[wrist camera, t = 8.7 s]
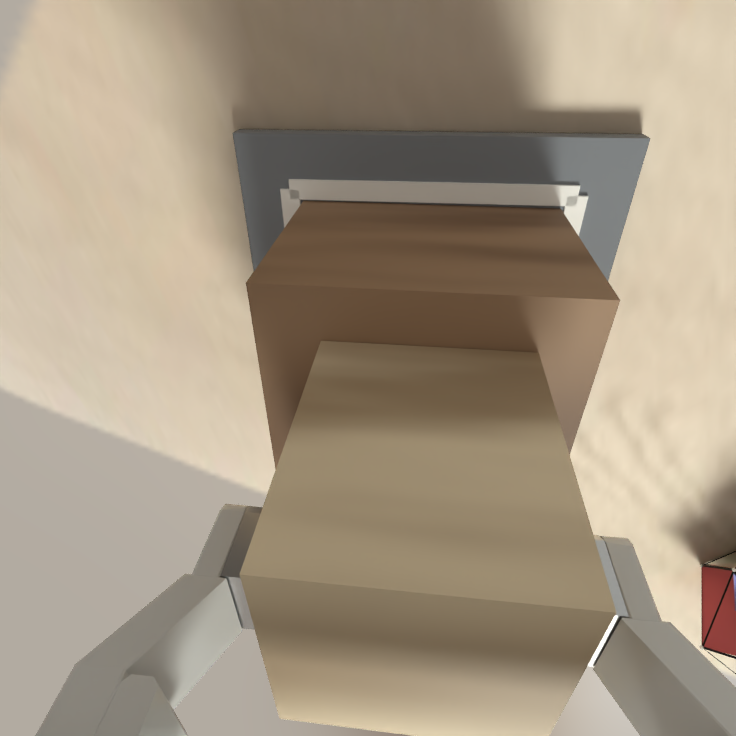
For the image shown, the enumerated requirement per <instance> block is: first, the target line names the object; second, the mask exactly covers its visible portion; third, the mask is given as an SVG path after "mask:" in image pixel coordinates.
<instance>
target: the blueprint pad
mask: <svg viewBox="0 0 736 736" xmlns="http://www.w3.org/2000/svg"><path fill="white" fill-rule="evenodd" d="M233 138H234V144H235V151H236V157H237V164H238V170H239V177H240V183H241V190H242V196H243V203H244V210H245V216H246V223H247V229H248V236H249V242H250V249H251V255H252V262H253V268H254V271H255V269H256V268H257V267H258V265H259V264H260V262H261V261H262V259H263V258H264V256H265V255H266V254H267V252H268V251H269V249H270V248H271V246H272V245H273V244H274V242H275V241H276V239H277V238H278V236H279V235H280V234H281V232H282V231H283V229H284V228H285V226H286V225H287V224H288V222H289V221H290V219H291V218H292V216H293V215H294V214H295V212H296V211H297V209H298V208H299V206H300V205H301V204H302V202H303V201H333V202H366V203H398V204H430V205H462V206H494V207H527V208H559V209H561V210H562V211H563V213H564V214H565V216H566V218H567V219H568V221H569V222H570V224H571V225H572V227H573V228H574V230H575V231H576V233H577V235H578V236H579V238H580V239H581V241H582V242H583V244H584V245H585V247H586V248H587V250H588V252H589V253H590V255H591V256H592V258H593V259H594V261H595V262H596V264H597V265H598V267H599V269H600V270H601V272H602V273H603V275H604V276H605V278H606V279H607V281H608V279H609V275H610V272H611V269H612V265H613V262H614V259H615V255H616V252H617V249H618V245H619V242H620V238H621V235H622V232H623V228H624V225H625V222H626V218H627V215H628V212H629V208H630V205H631V202H632V198H633V195H634V191H635V188H636V185H637V181H638V178H639V175H640V171H641V168H642V165H643V161H644V158H645V155H646V151H647V148H648V144H649V141H650V138H649V137H647V136H645V135H644V134H588V133H504V132H420V131H336V130H252V129H239V130H237V131H236V132H234V133H233Z"/></svg>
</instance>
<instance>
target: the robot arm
mask: <svg viewBox="0 0 736 736" xmlns="http://www.w3.org/2000/svg"><path fill="white" fill-rule="evenodd" d="M262 508H263V507H253V506H244V505H233V504H225V505H224V506H223V508H222V509H221V510H220V512H219V514H218V516H217V518H216V521H215V523H214V525H213V528H212V530H211V532H210V534H209V537H208V539H207V541H206V544H205V546H204V548H203V550H202V553H201V555H200V557H199V560H198V562H197V564H196V567H195V569H194V571H193V574H184V575H183V576H182V577H181V578H180V579H178V580H177V581H176V582H175V583H173V584H172V585H171V586H170V587H168V588H167V589H166V590H165V591H164V592H162V593H161V594H160V595H159V596H158V597H156V598H155V599H154V600H153V601H152V602H150V603H149V604H148V605H147V606H145V607H144V608H143V609H142V610H141V611H139V612H138V613H137V614H136V615H135V616H133V617H132V618H131V619H130V620H129V621H127V622H126V623H125V624H124V625H122V626H121V627H120V628H119V629H118V630H116V631H115V632H114V633H113V634H112V635H110V636H109V637H108V638H107V639H105V640H104V641H103V642H102V643H101V644H99V645H98V646H97V647H96V648H95V649H93V650H92V651H91V652H90V653H88V654H87V655H86V656H85V657H84V658H83V659H81V660H80V661H79V662H77V663H76V664H75V666H74V667H73V669H72V671H71V673H70V675H69V676H68V678H67V680H66V682H65V684H64V685H63V687H62V689H61V691H60V693H59V694H58V696H57V698H56V700H55V701H54V703H53V705H52V707H51V709H50V711H49V712H48V714H47V716H46V718H45V720H44V721H43V723H42V725H41V727H40V728H39V730H38V732H37V734H36V736H187V733H186V731H185V729H184V727H183V725H182V724H181V722H180V720H179V719H178V717H177V715H176V714H175V712H174V709H175V708H176V706H178V704H179V703H180V702H181V701H182V700H183V699H184V698H185V696H186V695H187V694H188V693H189V692H190V690H191V689H192V688H193V687H194V686H195V685H196V684H197V683H198V681H199V680H200V679H201V678H202V677H203V675H204V674H205V673H206V672H207V671H208V670H209V669H210V668H211V667H212V665H213V664H214V663H215V662H216V661H217V660H218V659H219V657H220V656H221V655H222V654H223V653H224V652H225V650H226V649H227V648H228V647H229V646H230V645H231V644H232V642H233V641H234V640H235V639H236V638H237V637H238V636H239V634H240V633H241V632H242V628H245V629H255V628H254V625H253V621H252V618H251V614H250V611H249V607H248V603H247V600H246V596H245V593H244V589H243V586H242V582H241V578H240V575H239V574H240V571H241V568H242V566H243V563H244V560H245V557H246V554H247V551H248V548H249V546H250V543H251V540H252V537H253V534H254V531H255V528H256V525H257V523H258V520H259V517H260V514H261V511H262ZM593 536H594V539H595V542H596V546H597V549H598V552H599V556H600V559H601V562H602V566H603V569H604V572H605V576H606V579H607V582H608V586H609V589H610V592H611V596H612V599H613V602H614V606H615V609H616V612H617V613H616V615H615V616H614V618H613V620H612V622H611V624H610V626H609V627H608V629H607V631H606V633H605V635H604V637H603V638H602V640H601V642H600V644H599V646H598V648H597V649H596V651H595V653H594V655H593V657H592V658H591V660H590V662H589V664H588V666H591V667H594V668H593V670H594V671H595V672H596V674H597V675H598V677H599V678H600V679H601V681H602V683H603V684H604V685H605V687H606V688H607V690H608V691H609V692H610V694H611V695H612V697H613V698H614V699H615V701H616V702H617V703H618V705H619V707H620V708H621V709H622V711H623V712H624V713H625V715H626V716H627V718H628V719H629V721H630V722H631V723H632V725H633V726H634V728H635V729H636V731H637V732H638V733H639V735H640V736H736V687H735V686H734V685H733V684H732V683H731V682H730V681H729V680H728V679H727V678H726V677H725V676H724V675H723V674H722V673H721V672H720V671H719V670H718V669H717V668H716V667H715V666H714V665H713V664H712V663H711V662H710V661H709V660H708V659H707V658H706V657H705V656H704V655H703V654H702V653H701V652H700V651H699V650H698V649H697V648H696V647H695V646H694V645H693V644H692V643H691V642H690V641H689V640H688V639H687V638H686V637H685V636H684V635H682V634H681V633H680V632H679V631H678V630H677V629H676V628H675V627H674V626H673V625H672V624H671V623H670V622H664V621H662V620H661V618H660V615H659V613H658V610H657V607H656V605H655V602H654V599H653V597H652V594H651V591H650V589H649V586H648V584H647V581H646V578H645V576H644V573H643V570H642V568H641V565H640V563H639V560H638V557H637V555H636V552H635V549H634V547H633V544H632V543H631V542H630V541H629V539H627V538H618V537H604V536H598V535H593Z"/></svg>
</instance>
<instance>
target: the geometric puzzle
mask: <svg viewBox="0 0 736 736" xmlns="http://www.w3.org/2000/svg"><path fill="white" fill-rule="evenodd" d="M734 552H736V551H734ZM734 552H732V553H734ZM732 553H730V554H732ZM727 555H729V554H727ZM727 555H725V556H727ZM722 557H724V556H722ZM722 557H720V558H722ZM720 558H718V559H720ZM715 560H717V559H715ZM715 560H713V561H715ZM713 561H711V562H713ZM708 563H710V562H708ZM708 563H706V564H708ZM706 564H704V565H703V564H700V567H702V645H701V646H700V648H701V649H704V650H705V649H706V650H710V651H713V652H716V653H719V654H722V655H725V656H728V657H731V658H735V659H736V657H735V656H736V568H732V569H730V568H723V567H716V566H709V565H706ZM707 652H708V651H707ZM722 652H723V653H722ZM708 653H709V652H708ZM726 653H727V654H726ZM729 654H731V655H729ZM711 655H712V654H711ZM732 655H735V656H732ZM712 656H713V655H712ZM713 657H714V656H713ZM716 659H717V658H716ZM717 660H718V659H717ZM718 661H719V660H718ZM721 663H722V662H721ZM722 664H723V663H722ZM725 666H726V665H725ZM726 667H727V666H726ZM727 668H728V667H727ZM730 670H731V669H730ZM731 671H732V670H731ZM732 672H733V671H732ZM735 674H736V673H735Z"/></svg>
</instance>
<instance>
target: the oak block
mask: <svg viewBox="0 0 736 736" xmlns="http://www.w3.org/2000/svg"><path fill="white" fill-rule="evenodd" d="M239 575H240V578H241V582H242V586H243V589H244V593H245V596H246V600H247V603H248V607H249V611H250V614H251V618H252V621H253V625H254V628H255V632H256V635H257V639H258V642H259V646H260V650H261V654H262V657H263V661H264V664H265V668H266V671H267V675H268V678H269V682H270V686H271V689H272V693H273V696H274V700H275V703H276V707H277V711H278V714H279V718H280V719H287V720H295V721H303V722H311V723H319V724H327V725H334V726H342V727H349V728H358V729H365V730H373V731H381V732H388V733H397V734H404V735H412V736H549V735H550V733H551V731H552V730H553V728H554V726H555V724H556V722H557V721H558V719H559V717H560V715H561V713H562V711H563V710H564V708H565V706H566V704H567V702H568V700H569V699H570V697H571V695H572V693H573V691H574V689H575V688H576V686H577V684H578V682H579V680H580V679H581V677H582V675H583V673H584V671H585V669H586V667H587V666H588V664H589V662H590V660H591V658H592V657H593V655H594V653H595V651H596V649H597V648H598V646H599V644H600V642H601V640H602V638H603V637H604V635H605V633H606V631H607V629H608V627H609V626H610V624H611V622H612V620H613V618H614V616H615V615H616V613H617V612H616V609H615V606H614V602H613V599H612V596H611V592H610V589H609V586H608V582H607V579H606V576H605V572H604V569H603V566H602V562H601V559H600V556H599V552H598V549H597V546H596V542H595V539H594V536H593V532H592V529H591V526H590V522H589V519H588V516H587V512H586V509H585V506H584V502H583V499H582V495H581V492H580V489H579V485H578V482H577V479H576V475H575V472H574V469H573V465H572V462H571V459H570V455H569V452H568V449H567V445H566V442H565V439H564V435H563V432H562V429H561V425H560V422H559V419H558V415H557V412H556V409H555V405H554V402H553V399H552V395H551V392H550V388H549V385H548V382H547V378H546V375H545V372H544V368H543V365H542V362H541V358H540V355H539V353H537V352H518V351H500V350H482V349H463V348H445V347H427V346H409V345H390V344H372V343H354V342H336V341H321V342H320V345H319V347H318V350H317V353H316V356H315V359H314V362H313V365H312V368H311V370H310V373H309V376H308V379H307V382H306V385H305V388H304V390H303V393H302V396H301V399H300V402H299V405H298V408H297V411H296V413H295V416H294V419H293V422H292V425H291V428H290V431H289V434H288V436H287V439H286V442H285V445H284V448H283V451H282V454H281V457H280V459H279V462H278V465H277V468H276V471H275V474H274V477H273V479H272V482H271V485H270V488H269V491H268V494H267V497H266V500H265V502H264V505H263V508H262V511H261V514H260V517H259V520H258V523H257V525H256V528H255V531H254V534H253V537H252V540H251V543H250V546H249V548H248V551H247V554H246V557H245V560H244V563H243V566H242V568H241V571H240V574H239Z"/></svg>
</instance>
